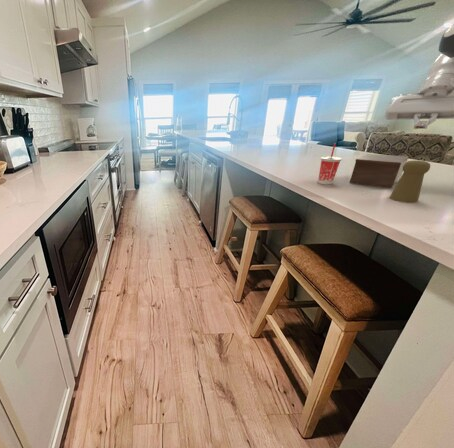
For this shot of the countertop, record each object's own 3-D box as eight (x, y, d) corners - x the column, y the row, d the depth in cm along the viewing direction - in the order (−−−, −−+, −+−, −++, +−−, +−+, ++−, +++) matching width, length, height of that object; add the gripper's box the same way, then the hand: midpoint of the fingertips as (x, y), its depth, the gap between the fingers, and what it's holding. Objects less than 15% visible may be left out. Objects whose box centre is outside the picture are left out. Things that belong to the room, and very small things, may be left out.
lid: (400, 165, 76) (401, 162, 76) (355, 161, 84) (355, 159, 84) (407, 158, 84) (408, 156, 84) (365, 155, 93) (366, 153, 92)
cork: (399, 202, 68) (414, 163, 64) (384, 195, 74) (397, 159, 69) (424, 202, 67) (441, 162, 63) (407, 196, 73) (422, 159, 68)
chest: (391, 188, 80) (400, 164, 77) (349, 182, 88) (355, 161, 85) (399, 180, 88) (407, 159, 84) (359, 176, 96) (365, 156, 93)
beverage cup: (331, 180, 91) (341, 142, 86) (337, 185, 86) (349, 144, 80) (313, 180, 93) (321, 142, 87) (318, 184, 88) (328, 144, 82)
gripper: (394, 88, 82) (378, 120, 81) (492, 80, 68) (474, 119, 66) (392, 102, 87) (376, 133, 85) (484, 98, 72) (466, 135, 70)
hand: (420, 127), depth 75 cm, fingers closed
